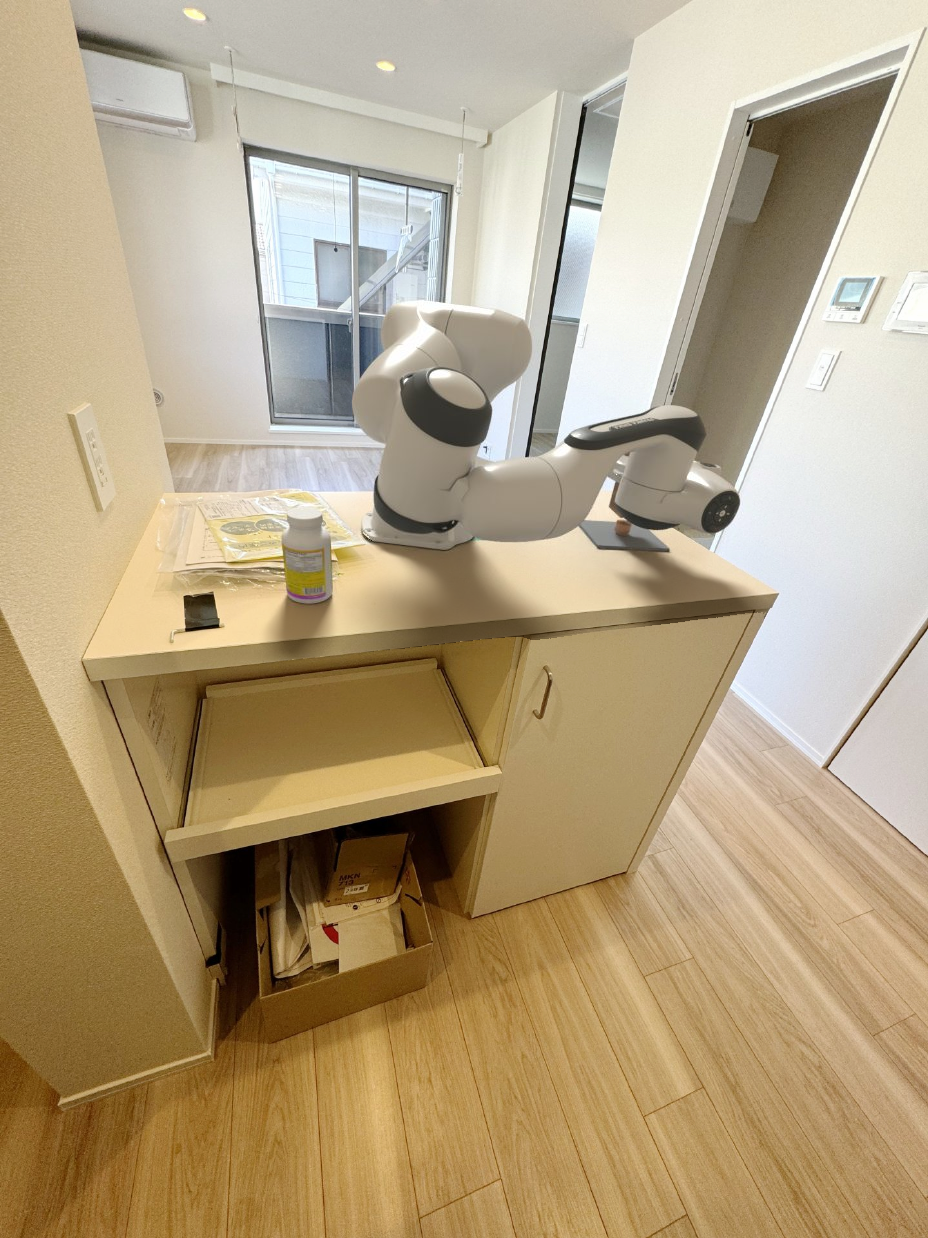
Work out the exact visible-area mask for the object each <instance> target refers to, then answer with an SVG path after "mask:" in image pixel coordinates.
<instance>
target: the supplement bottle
mask: <svg viewBox="0 0 928 1238" xmlns="http://www.w3.org/2000/svg"><path fill="white" fill-rule="evenodd" d="M323 517H324V516H323V512H322V510H320V509H318V508H317V507H316V508H315V507H309V506H298V507H293V508H291V509H289V510H287V511H286V522H287V524H288V526H287V527H286V528H285V529H284V530H283V532H282V534H281V536H280V537H281V547H282V548H281V549H282V557H283V559H282V560H283V569H284V577H285V578H284V579H285V587H286V589H285V590H286V595H287V597H288V598H290V600H292V601H294V602H296V603H300V604H305V605H306V604H307V605H310V604H319V603H321V602H324V601H326V600H328V599H329V598H330V597H331V596H332V595H333V591H334V587H333V586H334V585H333V582H334V581H333V562H332V561H333V560H332V538H331V533H330V531H329V530H328V529H327V528H325V527H324V526H322V525H323V522H324V518H323Z"/></svg>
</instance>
